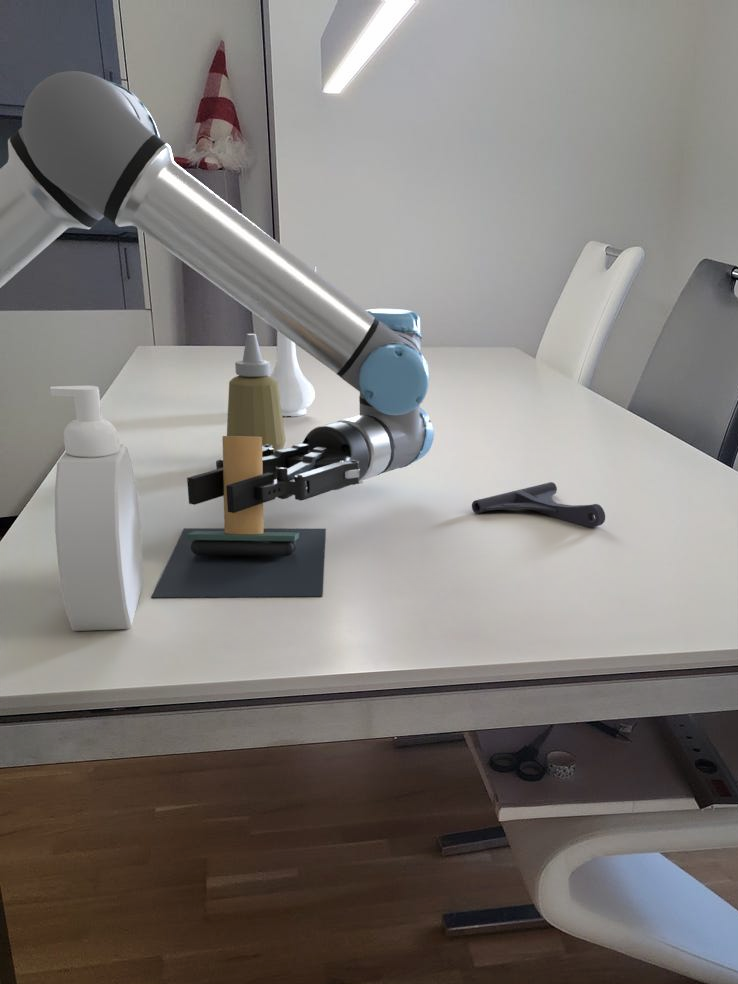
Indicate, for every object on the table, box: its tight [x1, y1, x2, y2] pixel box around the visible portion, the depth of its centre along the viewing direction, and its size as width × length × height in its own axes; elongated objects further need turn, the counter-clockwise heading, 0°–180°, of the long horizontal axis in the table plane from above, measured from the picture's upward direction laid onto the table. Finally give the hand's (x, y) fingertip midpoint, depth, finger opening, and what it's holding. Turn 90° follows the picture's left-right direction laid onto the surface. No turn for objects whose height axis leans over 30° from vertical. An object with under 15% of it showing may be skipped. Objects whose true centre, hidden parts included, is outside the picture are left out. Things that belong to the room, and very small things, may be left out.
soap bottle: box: [49, 385, 144, 632], centre depth 91 cm, size 16×5×20 cm, turn 12°
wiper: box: [187, 435, 299, 556], centre depth 108 cm, size 11×5×12 cm, turn 94°
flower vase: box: [264, 265, 317, 417], centre depth 176 cm, size 13×18×25 cm
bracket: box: [471, 481, 606, 528], centre depth 128 cm, size 14×15×3 cm
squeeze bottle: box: [226, 333, 287, 452], centre depth 142 cm, size 8×8×18 cm
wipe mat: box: [151, 527, 327, 599], centre depth 109 cm, size 16×22×1 cm
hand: (210, 495), depth 104 cm, fingers closed on wiper, 4 cm apart
